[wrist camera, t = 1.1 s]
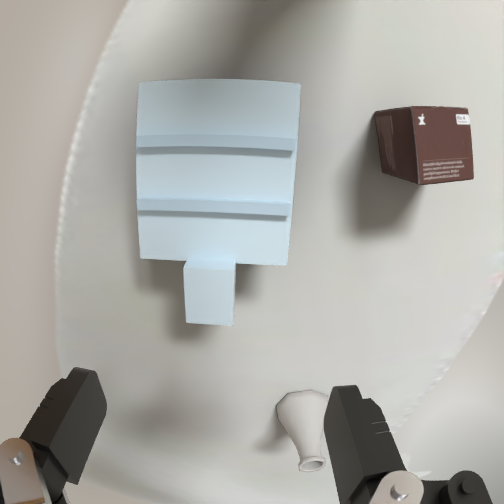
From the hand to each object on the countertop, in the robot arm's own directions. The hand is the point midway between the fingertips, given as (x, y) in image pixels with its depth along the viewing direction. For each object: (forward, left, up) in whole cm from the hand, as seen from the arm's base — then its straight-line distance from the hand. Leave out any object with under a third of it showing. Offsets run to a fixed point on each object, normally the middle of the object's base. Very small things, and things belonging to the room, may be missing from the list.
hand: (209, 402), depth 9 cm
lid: (-3, -1, -15) cm, 16 cm away
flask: (+24, +10, -21) cm, 34 cm away
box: (-10, +16, -21) cm, 28 cm away
